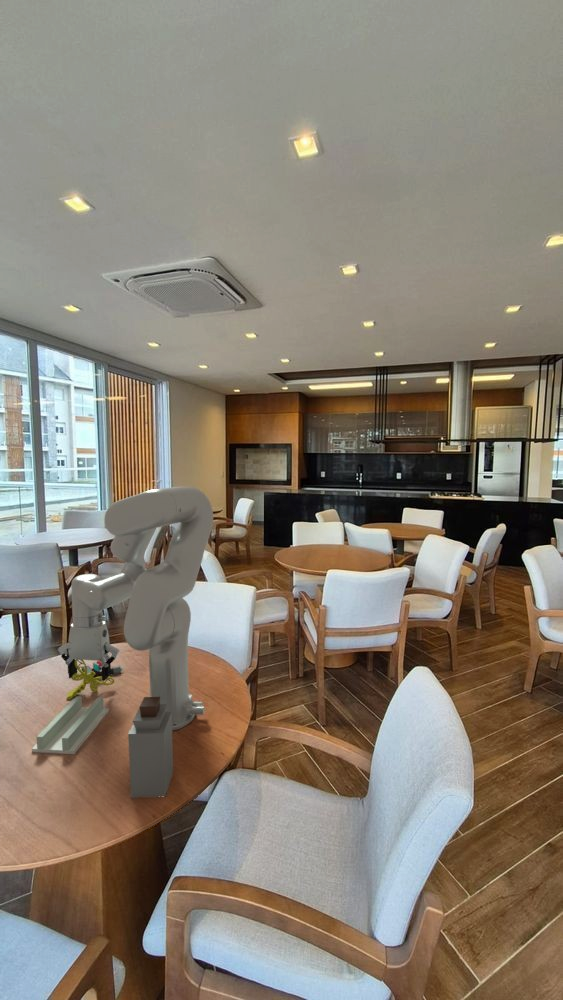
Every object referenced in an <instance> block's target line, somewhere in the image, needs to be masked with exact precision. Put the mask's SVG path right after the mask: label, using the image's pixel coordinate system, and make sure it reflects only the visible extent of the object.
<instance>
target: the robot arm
mask: <svg viewBox="0 0 563 1000" xmlns="http://www.w3.org/2000/svg"><path fill="white" fill-rule="evenodd" d="M175 524H179V525H178V527H177V529H176V530H175V532H174V534H173V536H172V537H171V539H170V541H169V543H168V548H167V552H166V555H165V558H164V559H163V561H162V562H161V563H159V564H157V565H154V566H152V567H150V568H147V567H146V561H145V558H144V555H145V553H146V551H147V549H148V546H149V544H150V542H151V540H152V539H153V536H154V535H155V533H156V530H157V529H158V528H163V527H165V526H170V525H175ZM213 524H214V511H213V507H212V503H211V502H210V499H209V498H208V496H207V495H206V494H205V492H203V491H202V490H200V489H199V488H197V487H194V486H187V485H185V486H184V485H183V486H173V487H164V488H157V489H155V488H154V489H150V490H146V491H144V492H140V493H138V494H134V495H131V496H128V497H126V498H123V499H119V500H117V501H115V502H113V503H112V504H111V505H109V506H108V508H107V509H106V512H105V514H104V525H105V528H106V530H107V531H108V532H109V534H111V535H113V536H114V537H113V539H112V542H111V544H110V552H111V553H112V555H113V556H114V557H115V558H117V559H118V560H119V561H121V562H124V564H123V566H122V568H121V570H120V571H119V573H118V574H116V575H113V576H110V577H106V578H104V579H102V578H101V577H100V575H98V574H96V573H95V574H94V573H85V574H80V575H77V576H75V577H74V578H72V580H71V606H72V607H71V609H72V610H71V611H72V623H71V624H70V628H69V635H68V642H67V643H64V644H63V645H61V646H59V647H58V649H57V650H58V653H59V654H60V655H61V657H60V658H62V660H64V661H65V665H67V674H68V679H72V676H73V674H75V673H76V674H78V669H77V668H76V666H75V659H80V660H79V661H81V660H83V661H98V660H99V661H100V662H101V663H102V665H103V667H102V678H101V679H102V680H103V681H104V682H105V681H106V679H107V678H108V677H110V676H109V675H110V674H111V668H112V667H111V664H112V663H113V662H114V661H115V660H116V659H117V657H118V655H119V653H120V650H119V648H117V647H115V646H114V645H111V644H110V636H109V635H110V634H109V630H108V626H107V623H106V621H107V619H108V618H107V615H104V612H103V611H104V610H106V609H108V608H110V607H113V606H115V605H118V604H119V603H122V602H124V601H128V600H129V603H128V605H127V609H126V612H125V618H124V622H123V634H124V638H125V640H126V643H127V644H128V645H129V646H130V648H132V649H133V650H136V651H140V652H141V651H142V652H143V651H148V650H149V651H148V652H149V653H148V664H149V665H148V666H149V667H148V668H149V670H148V671H149V694H150V695H149V697H160V704H167V707H166V712H172V732H173V731H174V732H175V731H177V730H179V729H182V728H183V727H185V726H187V725H188V724H190V723H192V721H193V719H194V718H195V717H196V716H195V715H199V716H204V715H205V711H206V706H204V705H203V703H204V702H203V701H195V700H193V694H189V692H190V691H189V661H188V660H189V651H188V650H189V648H188V646H189V645H188V644H189V632H190V627H191V626H190V625H191V617H192V614H191V608H190V606H189V604H188V602H187V601H186V599H184V598H185V597H186V596H188V595H190V594H191V593H192V591H193V590H194V589H195V585H196V582H197V578H198V574H199V572H200V568H201V565H202V562H203V557H204V554H205V550H206V547H207V545H208V541H209V538H210V536H211V532H212V529H213ZM146 568H147V569H146ZM109 653H110V654H111V656H110V655H109ZM108 679H109V678H108ZM102 680H101V681H102ZM103 681H102V682H103Z"/></svg>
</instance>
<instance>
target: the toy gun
mask: <svg viewBox="0 0 563 1000" xmlns="http://www.w3.org/2000/svg"><path fill="white" fill-rule="evenodd" d="M82 667H83V668H84V669H85V666H84V665H83V666H82ZM86 667H87V674H89V673H90V672H91V671H93V673H94V672H95V673H96V674H95V675H94V676H93V678H96V677H101V676H102V667H103V665H102V663H101V662H100V661H99V660H96V662H95V661H93V664H92V668H91V667H90V665H86ZM83 668H81V670H82V671H83V672H84V670H83ZM123 670H124V668H122V666H121V665H113V666H112V667H111V674H110V675H109V677H111V676H113V675H119V674H122V671H123ZM85 671H86V670H85ZM89 678H90V677H89Z"/></svg>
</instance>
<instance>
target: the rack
mask: <svg viewBox="0 0 563 1000" xmlns="http://www.w3.org/2000/svg"><path fill="white" fill-rule="evenodd" d="M82 701H83V700H82V696H77V695H76V696H74V697H73V698H72V700H71V701H70V702H69V703H68V704H67V705H66V706H65V707H64V708H63V709H62V710H61V712H59V713H58V714H57V715H56V716H55V717H54V718H53V719H52V720H51V721H50V723H48V724H47V725H46V727H44V728H43V729H42V730H41V732H39V734H38V735H37V736H36V744H35V745H34V746H33V747H32V748H31V753H42V754H43V753H45V754H59V755H60V754H62V755H64V754H65V755H75V754H76V753H77V751H78V750H79V749H80V748H81V747H82V746H83V744H84V743H85V741H87V739H88V738H89V737H90V735H91V734H92V733H93V732H94V730H95V729H96V728H97V727H98V726H99V725H100V723H101V722H102V720H103V719H104V718H105V716H106V715H107V714H108V713H109V709H110V708H108V707H107V708H105V705H104V704H105V703H104V697H102V696H101V697H100V696H99V697H97V698H96V699H95V700H94V701H93V702H92V704H91V705H90V706H89V707H87V706H83V702H82Z"/></svg>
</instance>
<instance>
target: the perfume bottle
mask: <svg viewBox="0 0 563 1000" xmlns="http://www.w3.org/2000/svg"><path fill="white" fill-rule="evenodd" d="M166 707H167V704H160V697H150V696H144V697H143V699H142V701H141V703H140V705H139V707H138V710H137V712H136V713H135V715H134V717H133V719H132V723H133V724H132V726H131V728H130V730H129V731H128V733H127V734H128V735H127V736H128V756H129V757H128V758H129V762H128V764H129V781H130V782H129V783H130V784H129V785H130V787H129V788H130V798H131V799H138V798H137V797H158V798H162V797H161V796H164V797H163V798H166V797H167V794H168V791H167V790H169V787H170V784H171V780H172V776H173V774H174V758H173V757H174V752H173V751H174V750H173V731H172V712H166ZM166 793H167V794H166ZM159 796H160V797H159ZM165 796H166V797H165ZM135 797H136V798H135Z"/></svg>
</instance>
